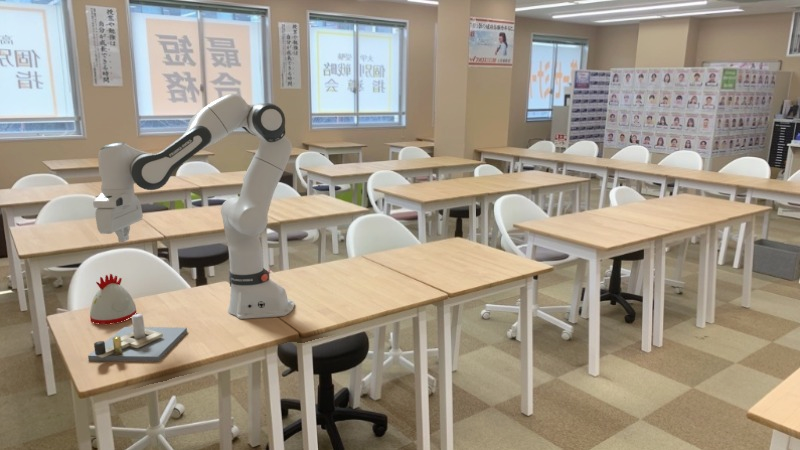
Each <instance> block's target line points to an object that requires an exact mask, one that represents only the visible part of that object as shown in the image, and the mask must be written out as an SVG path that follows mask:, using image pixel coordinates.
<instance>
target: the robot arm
mask: <svg viewBox="0 0 800 450" xmlns="http://www.w3.org/2000/svg"><path fill="white" fill-rule="evenodd" d="M239 128H242V129H243V130H244V131H246V132H247V133H248V134H250V135H252V136H255V137H258V140H259V142H258V143H259V144H258V147H257V150H256V152H255V154H254V155H253V157H252V159H251V162H250V164H249V165H248V168H247V170H246V172H245V174H244V176H243V178H242V181H243V182H242V186H241V190H240V193H239V196H232V197H230V198H227V199H226V200H225V201H224V202H223V203H222V204H221V206H220V207H221V208H220V215H221V218H222V223H223V229H224V234H225V238H226V243H227V248H228V258H229V273H228V278H229V279H228V281H229V286H230V300H229V305H228V308H227V312H228V313H229V314H230V315H233V316H236V318H238V319H240V320H243V319H247V320H248V319H260V318H261V319H262V318H274V317H275V318H276V317H284V316H288V314H290V313H291V312H292V311H293V309H294V307H295V302H294V300H293V299H289V298H288V294H287V291H286V289H285V287H283V286H281V285H280V284H278V283H277V282H275V281H274V280H272V279H270V273H271V269H268V270H266V269H265V267H264V261H263V259H264V258H263V246H262V244H261V243H262V242H261V240H260V237H259V235H260V234H261V233H263V232H264V231H265V229H266V228H267V225H268V214H269V211H270V206H271V203H272V199H273V196H274V194H275V191H276V189H277V187H278V185H279V182H280V181H281V178H282V176H283V173H284V171H285V170H286V167H287V165H288V162H289V160H290V157H291V154H292V150H293V144H292V142H291V140H290V139H289V138H288V137H287V136H285V135H286V117H285V113H284V111H283V110H282V109H281V108H280V107H279V106H277V105H276V104H275V103H270V102H260V103H259V102H258V103H256V104H248V102H246V100H245V99H244V98H243V97H242V96H241V95H238V94H237V93H229V94H226V95H223V96H221V97H219V98H216V100H214V101H211V102H210V103H208V104H207V105H206V106H204V107H203V108H201V109H200V110H199V111H197V112H196V114H194V115H193V116H192V117H191V118H190V120H189V121H188V126H187V128H186V130H185V132H184V133H183V135H182V136H180V137H179V138H178V139H176V140H175V141H174V142H173V143H171V144H169V145H168V146H167V147H166V148H164V149H162V150H161V151H160V152H158V153H155V154H154V153H151V152H148V151H147V152H146V151H143V150H140V149H137V148H134V147H133V146H131V145H128V144H127V143H125V142H115V143H110V144H106V145H104V146H102V147H101V148H100V149H99V151H98V157H97V161H98V163H97V164H98V173H99V177H100V178H101V185H100V189H101V192H100V194H98V196H97V197H96V198H95V199H94V200H93V203H92V205H93V208H95V209H96V210H95V222H96V223H95V224H96V227H97V228H96V229H97V230H98V232H99V234H101V235H103V234H104V235H105V234H106V235H110V234H111V235H112V234H113V233H115V235H116V236H117V239H118V240H117V241H118V242H119V243H125V242H126V241H127V242H128V241H129V239H130V235H129V234H130V231H131V226H132V225H133V224H136V223H138V222H140V221H142V220H143V209H142V204H141V201H140V199H139V198H138V195H137V194H136V193H135V186H134V184H135V185H136V186H137V187H139V188H140V189H144V190H146V191H155V190H159V189H161V188H163V187H164V186H165V185H166V184H167V182H169V179H170V178H171V176H172V174H173V173H174V172H175V170H176V169H177V168H179V167H180V166H181V165H183V164H184V163H185V162H187V161H188V160H189V159H191V158H192V157H193V156H194V155H196V154H197V153H199V152H200V151H202V150H203V149H206V148H207V147H209V146H212V145H214V144H215V143H217V142H219V141H221V140H223V139H224V138H226V137H227V136H229V135H230V134H231V133H233V132H234V131H235V130H237V129H239Z"/></svg>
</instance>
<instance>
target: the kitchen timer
mask: <svg viewBox="0 0 800 450" xmlns="http://www.w3.org/2000/svg"><path fill="white" fill-rule="evenodd" d="M122 278H123V277H119V279H118V275H113V274H112V273H109V275H108V274H105V278H103V277H101V276H100V277H99V280H100V282H98V281H96V285H97V287H99V288H98V290H97V291H96V292H95V294H94V296H93V299H92V302H91V306H90V311H89V317H90V322H91V321H92V322H94V323H99V324H107V325H111V324H110V323H115V324H118V323H117V322H120V323H122V322H121V321H124V320H126V319H128V318H130V317H132V316H133V315H135V313H136V312H137V307H136V304H135V303H136V302H135V301H134V299H133V297H132V295H131V294H130V293H129V291H128V290H127V289H126V288H125V287H123V285H121V283H122ZM136 314H137V313H136ZM92 322H91V323H92ZM124 322H125V321H124ZM94 323H93V324H94ZM99 324H98V325H99Z"/></svg>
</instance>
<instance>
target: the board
mask: <svg viewBox="0 0 800 450" xmlns="http://www.w3.org/2000/svg"><path fill="white" fill-rule="evenodd" d="M131 321H132V326H124V327H122V328H121V329H120V330H118V332H116V333H115V334H113V335H112V336H111V337H110V338H108V339H107V340H105V341H104V342H105V349H106V348H109V347H111V346H113V337H116V336H120V337H122V336H124V335H127V334H129V333H132V332H134V339H136V340H140V339H142V338H144V337H145V329H148V330H152V331H155V332H159V333H163V337H161V338H159V339H157V340H154V341H152V342H150V343H148V344H145V345H143V346H141V347H139V348H134V347H131V346H128V347H126V348H124V349H122V353H123V354H122V355H119V356H115V353H112V354H110V355H108V356H105V357H103V358H101V357H98V356H97V355H96V354H95V350H93V351H92V352H91V353H89V354H88V355H87V359H88V361H89V362H90V361H91V362H92V361H93V362H95V361H96V362H99V361H100V362H160V361H161V360H162V359H163V357H164V356H166V355H167V354H168V352H170V350H171V349H173V347H174V346H175V345H177V343H178V342H179V341H180V340H181V339H182V338H183V337H184V336H185V335H186V334H187V333H188V327H178V326H177V327H172V326H171V327H169V326H168V327H164V326H161V327H160V326H159V327H157V326H155V327H154V326H152V327H151V326H145V322H144V314H142V313H136V314H135V315H133V316H132V318H131ZM144 328H145V329H144Z"/></svg>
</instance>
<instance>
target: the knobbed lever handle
mask: <svg viewBox="0 0 800 450" xmlns="http://www.w3.org/2000/svg"><path fill="white" fill-rule="evenodd" d="M144 329H145V328H144ZM161 337H163V333H159V332H155V331H152V330H148V329H145V337H144V338H142V339H140V340H136V339H134V332H132V333H129V334H127V335H124V336H122V337H121V345H122V349H124V348H126V347H128V346H131V347H134V348H139V347H141V346H143V345H145V344H148V343H150V342H152V341H154V340H157V339H159V338H161ZM105 342H106V341H104V340H99V341H95V342H94V343H93V347H94V351H95V354H96V355H97V356H98V357H101V358H103V357H105V356H108V355H110V354H112V353H114V346H111V347H109V348H106V349H105Z"/></svg>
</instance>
